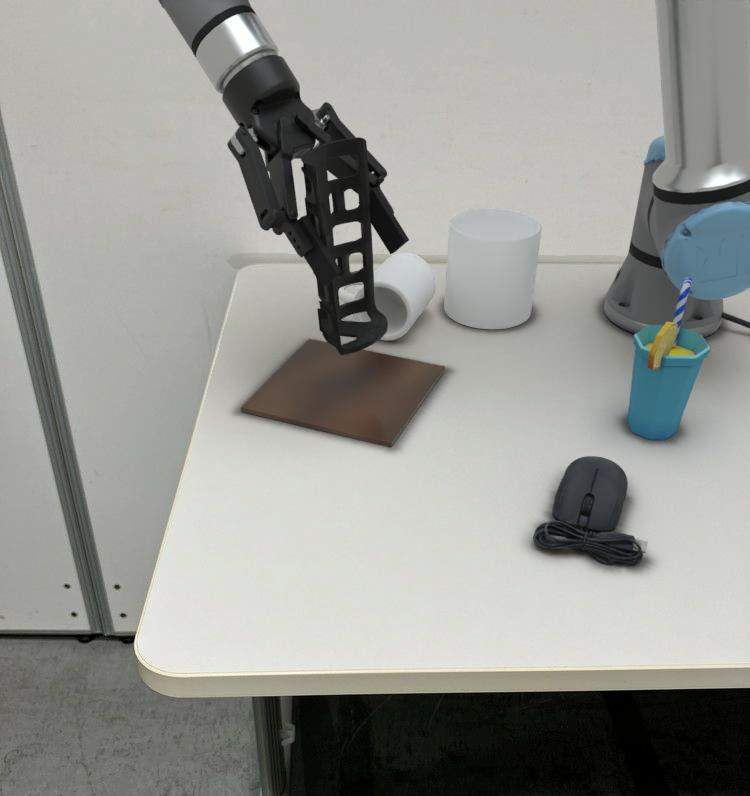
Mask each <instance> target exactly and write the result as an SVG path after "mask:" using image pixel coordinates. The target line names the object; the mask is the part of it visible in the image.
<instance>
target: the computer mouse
mask: <svg viewBox="0 0 750 796" xmlns="http://www.w3.org/2000/svg"><path fill="white" fill-rule="evenodd" d="M628 486H629V485H628V477H627V474H626V472H625V471H624V469H623V468H622V467H621V466H620V465H619V464H617V463H616V462H614V460H611V459H609V458H606V457H602V456H596V455H587V456H581V457H578V458H576V459H574V460H573V461H572V462H571V463H569V465H567V467H566V469H565V471H564V474H563V476H562V478H561V481H560V482H559V485H558V487H557V489H556V490H557V491H556V493H555V496H554V501H553V506H552V512H551V516H552V518H553V519H554V520H550V521H548V522H543V523H541V524H539V526H538V527H536V529H535V530H534V533H533V536H532V540H533V543H534V544H536V545H537V546H538V547H540V548H542V549H544V550H563V549H580V551H582V552H586V551H587V552H588V553H589V554H590V555H591V556H592V557H594V558H595V559H596V560H598V561H599V562H601V563H603V564H605V565H610V566H611V565H615V564H617V562H618V563H622V564H623V563H624V564H628V565H636V564H638V563H640V562H642V560H643V557H644V554H646V553H647V549H648V543H649V542H648V540H645V539H640V538H636V537H635V536H634V535H632V534H626V533H622V532H617V531H615V530H616V529H617V526H618V522H619V520H620V518H621V515H622V510H623V506H624V502H625V500H626V497H627V493H628ZM547 537H548V538H547ZM556 537H560V538H556ZM564 538H566V539H564ZM597 555H598V556H597ZM599 556H601V557H604V558H606V559H607V560H605V559H602V558H601V557H599Z"/></svg>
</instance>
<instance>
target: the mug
mask: <svg viewBox="0 0 750 796" xmlns="http://www.w3.org/2000/svg"><path fill="white" fill-rule="evenodd" d="M352 286H353V287H354V286H360V287H359V289H357V291H356V293H351V292H348V291H346V289H347V288H349V287H352ZM436 290H437V281H436V276H435V273H434V271H433V268H432V267H431V266H430V265H429V264H428V262H427V261H426V260H425V259H424V258H422V257H421V256H419V255H417V254H414V253H411V252H397V253H393V254H391V255H390V256H389V257H387V258H386V259H385V260H384V261H383V262H382V263H381V264H380V266H378V267H377V269H376V270H374V298H375V305H376V308H377V309H378V311H380V312H381V313H382V314H383V315H384V316H385V317H386V319H387V322H388V329H387V332H386V333H385V335H384V336H383V337H382V338H381V339H380V340H381V341H394V340H398V339H400V338H402V337H403V336H405V335H406V334H407V333H408V332H409V331H410V329H411V328H412V326H413V325H414V324H415V323H416V321H417V320H418V319H419V317H420V316H421V314H422V313H423V312H424V310H425V309H426V308H427V307H428V306H429V304H430V303H431V301H432V300H433V298H434V296H435V293H436ZM338 295H339V302H342V303H343V304H345V303H348V302H352V301H355V300H359V299H361V298H363V297H364V284H363V283H362V282H359V283H354V284H350V285H346V286H343V287H341V288H340V289H339V291H338ZM353 315H354V318H355V320H356V321H357V322H369V321H371V319H370V317H369V316H368V314H367V312H360V313H355V314H353ZM380 340H379V341H380Z"/></svg>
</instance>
